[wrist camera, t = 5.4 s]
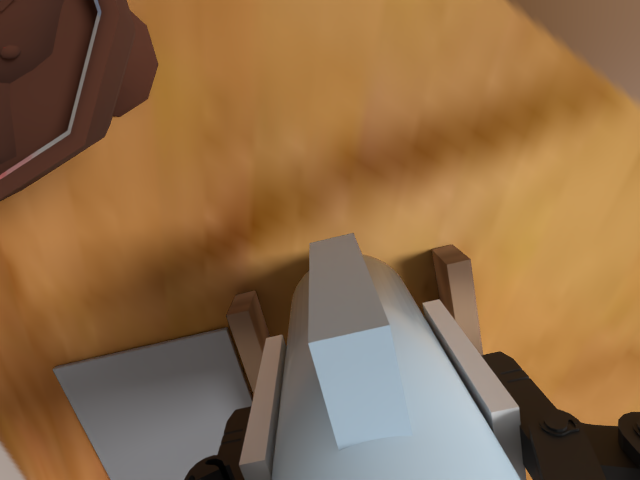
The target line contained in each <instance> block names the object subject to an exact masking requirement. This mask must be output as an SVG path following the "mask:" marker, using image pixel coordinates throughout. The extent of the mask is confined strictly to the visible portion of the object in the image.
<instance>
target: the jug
mask: <svg viewBox="0 0 640 480" xmlns="http://www.w3.org/2000/svg"><path fill="white" fill-rule="evenodd" d="M271 480H521V479H520V477H519V475H518V474H517V472H516V470H515V469H514V467H513V465H512V464H511V462H510V460H509V459H508V457H507V455H506V454H505V452H504V450H503V449H502V447H501V445H500V443H499V442H498V440H497V438H496V437H495V435H494V433H493V432H492V430H491V428H490V427H489V425H488V423H487V422H486V420H485V418H484V417H483V415H482V413H481V412H480V410H479V408H478V406H477V405H476V403H475V401H474V400H473V398H472V396H471V395H470V393H469V391H468V390H467V388H466V386H465V385H464V383H463V381H462V380H461V378H460V376H459V375H458V373H457V371H456V370H455V368H454V366H453V364H452V363H451V361H450V359H449V358H448V356H447V354H446V353H445V351H444V349H443V348H442V346H441V344H440V343H439V341H438V339H437V338H436V336H435V334H434V333H433V331H432V329H431V327H430V326H429V324H428V322H427V321H426V319H425V317H424V316H423V314H422V312H421V311H420V309H419V307H418V306H417V304H416V302H415V301H414V299H413V297H412V296H411V294H410V292H409V290H408V289H407V287H406V285H405V284H404V282H403V280H402V279H401V277H400V276H399V275H398V274H397V272H396V271H395V270H394V269H392V268H391V267H390V266H389V265H387V264H386V263H384V262H382V261H380V260H378V259H376V258H373V257H370V256H366V255H362V253H361V251H360V248H359V246H358V243H357V241H356V238H355V236H354V233H351V234H347V235H343V236H338V237H334V238H330V239H326V240H321V241H317V242H313V243H310V254H309V271H308V272H307V273H306V274H305V275H304V276H303V278H302V279H301V280H300V282H299V283H298V285H297V287H296V289H295V292H294V294H293V298H292V303H291V312H290V320H289V329H288V338H287V347H286V356H285V364H284V373H283V382H282V391H281V400H280V408H279V417H278V426H277V435H276V443H275V452H274V461H273V470H272V479H271Z"/></svg>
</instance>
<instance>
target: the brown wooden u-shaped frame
mask: <svg viewBox="0 0 640 480" xmlns="http://www.w3.org/2000/svg"><path fill="white" fill-rule="evenodd" d="M432 255H433V261H434V267H435V273H436V279H437V286H438V292H439V298H440V301H441V302H442V304H443V305H444V306H445V308H446V309H447V310H448V312H449V313H450V314H451V316H452V317H453V318H454V320H455V321H456V322H457V324H458V325H459V326H460V328H461V329H462V330H463V332H464V333H465V335H466V336H467V337H468V339H469V340H470V341H471V343H472V344H473V345H474V347H475V348H476V349H477V351H478V352H479V353H480V355H483V350H482V342H481V335H480V327H479V320H478V312H477V305H476V297H475V289H474V282H473V274H472V267H471V259H470V258H468V257H467V256H466V255H465V254H463V253H462V252H461V251H460V250H459V249H457V248H456V247H455V246H454V245H453V244H452V245H448V246H444V247H440V248H435V249H432ZM226 317H227V320H228V323H229V326H230V328H231V331H232V334H233V337H234V340H235V343H236V345H237V348H238V351H239V354H240V357H241V360H242V363H243V365H244V368H245V371H246V374H247V377H248V380H249V382H250V385H251V388H252V391H253V394H254V393H255V388H256V383H257V379H258V374H259V369H260V365H261V360H262V355H263V351H264V346H265V341H266V338H269V337H270V335H269V331H268V328H267V325H266V322H265V319H264V316H263V313H262V310H261V306H260V303H259V300H258V297H257V294H256V291H251V292H246V293H242V294H238V295H235V297H234V299H233V302H232V304H231V306H230V308H229V310H228V312H227V314H226Z"/></svg>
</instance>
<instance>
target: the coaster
mask: <svg viewBox="0 0 640 480" xmlns="http://www.w3.org/2000/svg"><path fill="white" fill-rule="evenodd" d="M52 370H53V372H54V373H55V375H56V377H57V379H58V381H59V383H60V385H61V387H62V389H63V390H64V392H65V394H66V396H67V398H68V400H69V402H70V404H71V406H72V407H73V409H74V411H75V413H76V415H77V417H78V419H79V421H80V423H81V425H82V426H83V428H84V430H85V432H86V434H87V436H88V438H89V440H90V442H91V443H92V445H93V447H94V449H95V451H96V453H97V455H98V457H99V459H100V461H101V462H102V464H103V466H104V468H105V470H106V472H107V474H108V476H109V478H110V479H111V480H184V479H185V477H186V475H187V474H188V472H189V470H190V469H191V468H192V467H193V466H194V465H195V464H196V463H198V462H199V461H201V460H202V459H204V458H206V457H209V456H212V455H217V454H218V451H219V447H220V445H221V440H222V437H223V435H224V430H225V426H226V423H227V420H228V419H229V418H230V416H231V415H232V413H233V412H234V411H235V410H236V409H240V408H245V407H250V406H252V402H253V398H252V395H251V392H250V389H249V387H248V384H247V381H246V378H245V375H244V373H243V370H242V367H241V364H240V361H239V358H238V356H237V353H236V350H235V347H234V344H233V341H232V339H231V336H230V333H229V330H228V327H226V328H222V329H217V330H213V331H209V332H204V333H200V334H196V335H191V336H187V337H182V338H178V339H174V340H169V341H165V342H161V343H156V344H152V345H147V346H143V347H139V348H134V349H130V350H126V351H121V352H117V353H112V354H108V355H104V356H99V357H95V358H91V359H86V360H82V361H77V362H73V363H69V364H64V365H60V366H56V367H55V368H53V369H52Z"/></svg>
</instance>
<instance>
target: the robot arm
mask: <svg viewBox="0 0 640 480" xmlns="http://www.w3.org/2000/svg"><path fill="white" fill-rule="evenodd" d="M422 304H423V309H424V315H425V319H426V321H427V322H428V324H429V326H430V327H431V329H432V331H433V333H434V334H435V336H436V338H437V339H438V341H439V343H440V344H441V346H442V348H443V349H444V351H445V353H446V354H447V356H448V358H449V359H450V361H451V363H452V364H453V366H454V368H455V370H456V371H457V373H458V375H459V376H460V378H461V380H462V381H463V383H464V385H465V386H466V388H467V390H468V391H469V393H470V395H471V396H472V398H473V400H474V401H475V403H476V405H477V406H478V408H479V410H480V412H481V413H482V415H483V417H484V418H485V420H486V422H487V423H488V425H489V427H490V428H491V430H492V432H493V433H494V435H495V437H496V438H497V440H498V442H499V443H500V445H501V447H502V449H503V450H504V452H505V454H506V455H507V457H508V459H509V460H510V462H511V464H512V465H513V467H514V469H515V470H516V472H517V474H518V475H519V477H520V479H521V480H526V472H525V468H526V469H527V471H528V473H529V474H530V476H531V477H532V479H533V480H640V412H630V413H627V414H624V415H623V416H622V417H621V418H620V419H619V420H618V426H602V425H591V424H585V423H581V422H580V421H579V420H578V419H576V418H575V417H574V416H572V415H571V414H569V413H567V412H564V411H562V410H558V409H556V407H555V406H554V405H553V404H552V403H551V402H550V401H549V399H548V398H547V397H546V396H545V395H544V394H543V392H542V391H541V390H540V389H539V388H538V387H537V386H536V384H535V383H534V382H533V381H532V380H531V379H529V376H528V375H527V374H526V373H525V372H524V371H522V368H521V367H520V366H519V365H518V364H517V363H516V361H515V360H514V359H513V358H511V357H509V356H507V355H506V354H504V353H502V352H495V353H490V354H486V355H480V353H479V352H478V351H477V349H476V348H475V347H474V345H473V344H472V343H471V341H470V340H469V339H468V337H467V336H466V335H465V333H464V332H463V330H462V329H461V328H460V326H459V325H458V324H457V322H456V321H455V320H454V318H453V317H452V316H451V314H450V313H449V312H448V310H447V309H446V308H445V306H444V305H443V304H442V302H441V301H440V299H438V300H433V301H429V302H425V303H422ZM285 356H286V345H285V341H284V338H283V335H278V336H273V337H269V338H266V341H265V346H264V351H263V355H262V360H261V365H260V369H259V374H258V379H257V383H256V388H255V393H254V397H253V402H252V406H250V407H245V408H240V409H236V410H235V411H234V412H233V413H232V415H231V416H230V418H229V419H228V420H227V423H226V426H225V430H224V435H223V437H222V440H221V445H220V447H219V451H218V454H217V455H212V456H209V457H206V458H204V459H202V460H201V461H199V462H198V463H196V464H195V465H194V466H193V467H192V468H191V469H190V470H189V472H188V474H187V475H186V477H185V479H184V480H271V479H272V470H273V461H274V452H275V443H276V435H277V426H278V417H279V408H280V400H281V391H282V382H283V373H284V364H285Z"/></svg>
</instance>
